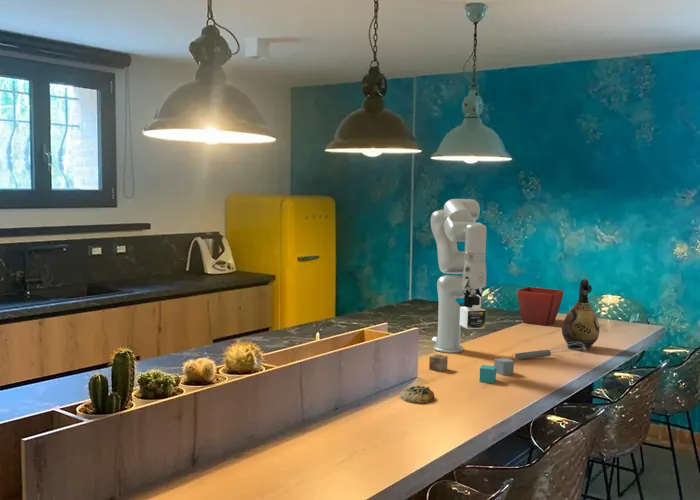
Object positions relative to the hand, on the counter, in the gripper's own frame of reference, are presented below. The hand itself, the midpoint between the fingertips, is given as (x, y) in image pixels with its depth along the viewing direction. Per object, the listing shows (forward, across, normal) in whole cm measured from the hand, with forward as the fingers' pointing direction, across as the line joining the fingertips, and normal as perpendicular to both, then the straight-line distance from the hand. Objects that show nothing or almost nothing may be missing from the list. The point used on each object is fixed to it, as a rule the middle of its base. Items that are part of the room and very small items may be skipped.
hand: (472, 305), depth 254 cm
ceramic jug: (+26, +67, -16) cm, 73 cm away
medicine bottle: (+8, 0, 0) cm, 8 cm away
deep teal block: (+25, -8, -12) cm, 28 cm away
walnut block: (+25, -7, +10) cm, 28 cm away
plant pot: (+27, +108, +22) cm, 113 cm away
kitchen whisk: (+26, +41, -14) cm, 50 cm away
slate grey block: (+25, +6, -11) cm, 28 cm away
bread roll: (+25, -42, -5) cm, 49 cm away
